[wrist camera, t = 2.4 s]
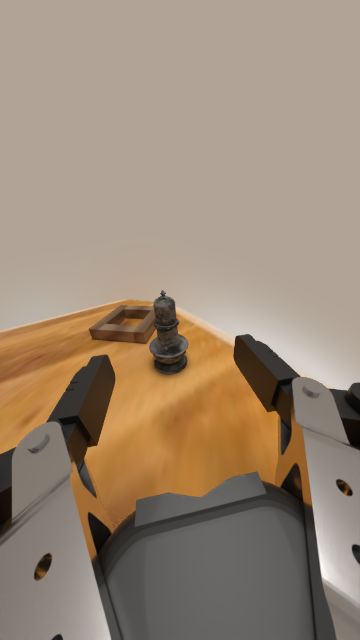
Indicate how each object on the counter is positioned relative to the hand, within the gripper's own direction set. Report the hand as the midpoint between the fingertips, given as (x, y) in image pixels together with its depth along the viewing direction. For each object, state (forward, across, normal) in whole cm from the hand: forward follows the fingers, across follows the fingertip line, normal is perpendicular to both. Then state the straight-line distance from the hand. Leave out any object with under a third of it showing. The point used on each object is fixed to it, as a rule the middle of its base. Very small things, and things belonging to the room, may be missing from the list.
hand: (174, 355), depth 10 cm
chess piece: (+12, 0, +11) cm, 16 cm away
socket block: (+25, +8, +11) cm, 28 cm away
